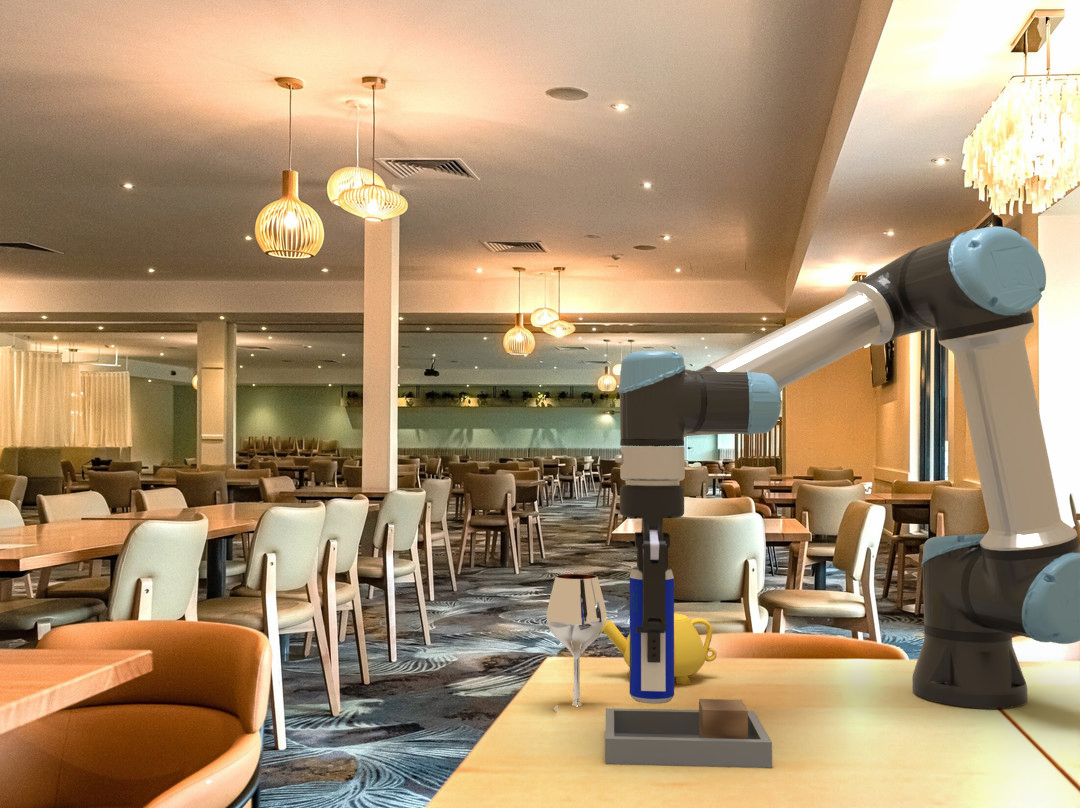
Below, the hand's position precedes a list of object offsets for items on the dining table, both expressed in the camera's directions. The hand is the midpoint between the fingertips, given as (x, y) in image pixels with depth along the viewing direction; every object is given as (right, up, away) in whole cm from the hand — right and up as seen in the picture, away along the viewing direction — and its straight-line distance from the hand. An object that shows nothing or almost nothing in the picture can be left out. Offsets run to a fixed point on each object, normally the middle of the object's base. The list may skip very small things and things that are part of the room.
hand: (652, 683), depth 113 cm
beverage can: (0, -2, 0) cm, 2 cm away
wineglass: (-8, -9, +19) cm, 23 cm away
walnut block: (+8, -7, -1) cm, 11 cm away
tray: (+4, -8, -1) cm, 9 cm away
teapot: (+5, -10, +39) cm, 41 cm away
